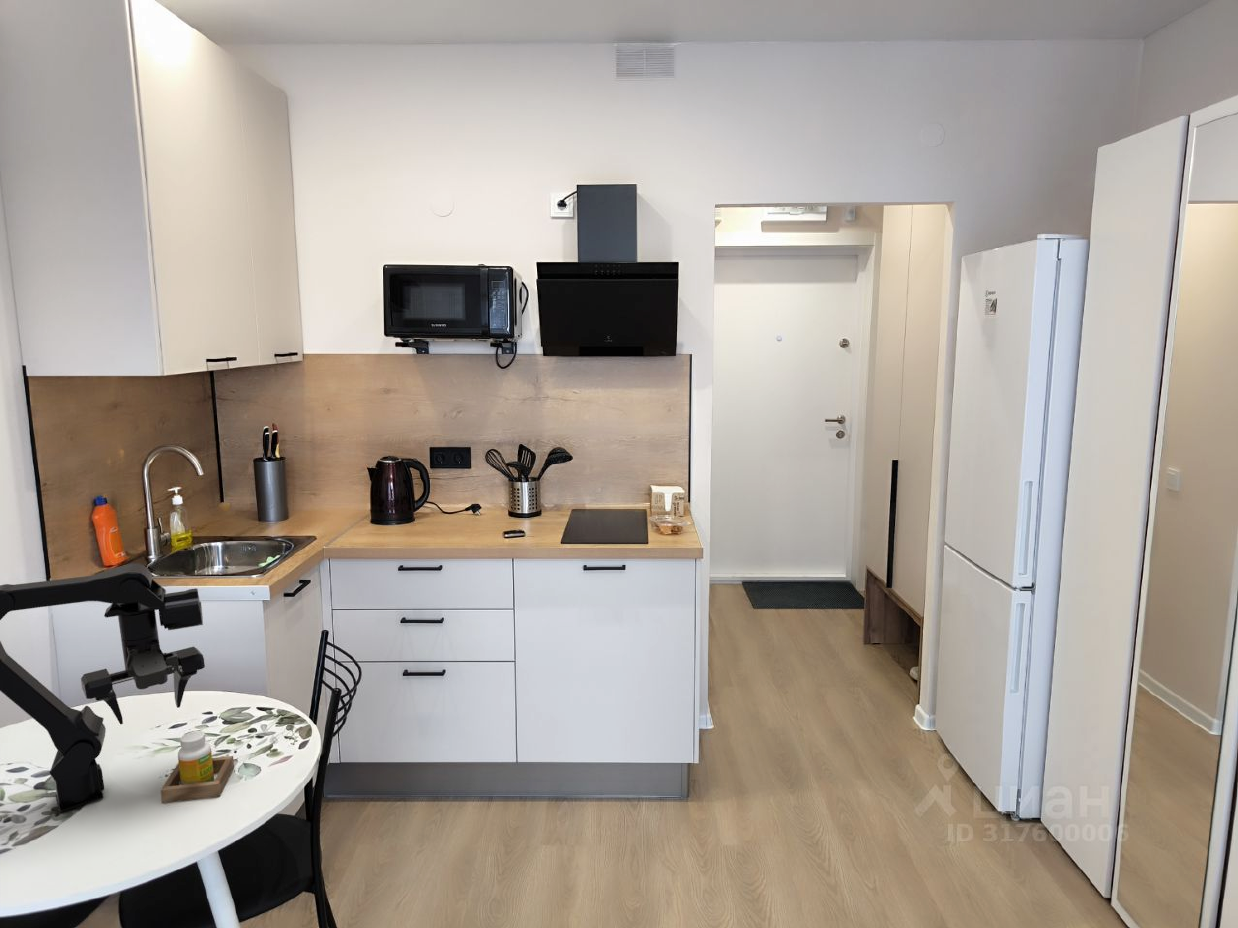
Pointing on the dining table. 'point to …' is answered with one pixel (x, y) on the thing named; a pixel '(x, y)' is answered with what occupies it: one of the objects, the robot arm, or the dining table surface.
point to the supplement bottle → (195, 759)
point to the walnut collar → (198, 790)
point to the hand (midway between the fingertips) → (150, 714)
